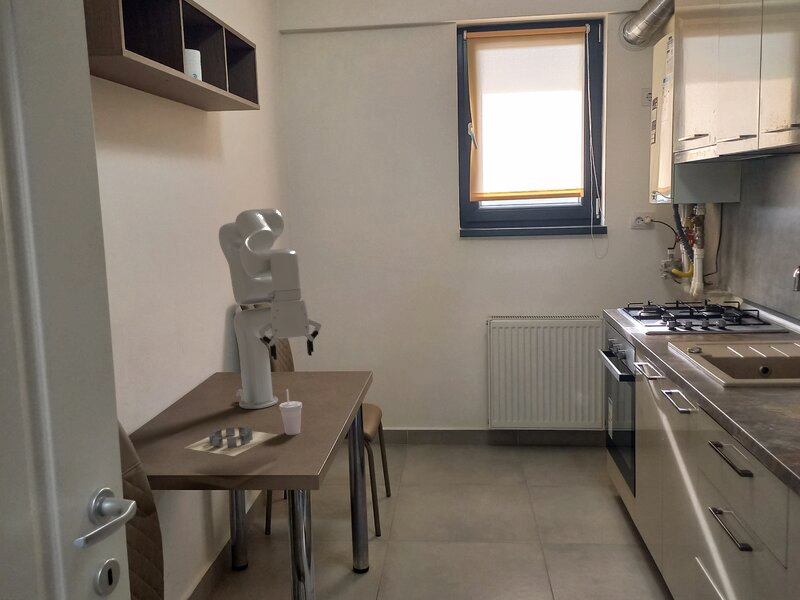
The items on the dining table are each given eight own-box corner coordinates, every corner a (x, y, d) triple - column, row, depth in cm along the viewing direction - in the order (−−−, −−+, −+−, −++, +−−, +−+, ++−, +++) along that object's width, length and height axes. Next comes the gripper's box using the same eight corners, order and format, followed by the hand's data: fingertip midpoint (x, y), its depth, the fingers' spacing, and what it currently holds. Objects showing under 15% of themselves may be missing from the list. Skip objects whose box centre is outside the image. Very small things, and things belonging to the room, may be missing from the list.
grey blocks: (201, 445, 203) (200, 436, 203) (230, 432, 213) (229, 424, 212) (232, 450, 197) (231, 441, 197) (261, 436, 207) (260, 428, 207)
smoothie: (282, 434, 212) (278, 387, 210) (305, 432, 213) (301, 385, 211) (281, 442, 206) (276, 393, 204) (304, 440, 207) (300, 391, 205)
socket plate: (183, 453, 202) (183, 448, 202) (229, 432, 217) (229, 427, 217) (234, 461, 193) (233, 456, 193) (278, 439, 208) (277, 434, 208)
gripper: (256, 300, 199) (262, 363, 201) (320, 294, 203) (325, 355, 206) (254, 297, 206) (259, 358, 208) (316, 291, 210) (321, 350, 213)
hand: (292, 356), depth 207 cm, fingers open, 9 cm apart
